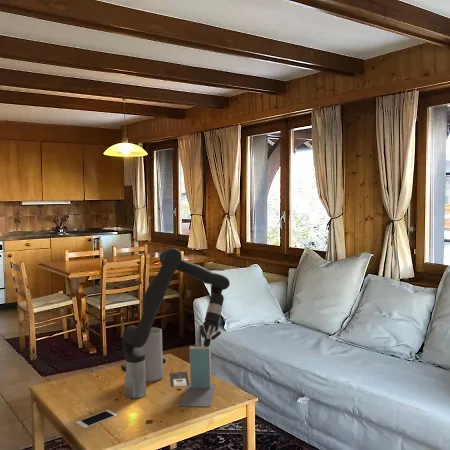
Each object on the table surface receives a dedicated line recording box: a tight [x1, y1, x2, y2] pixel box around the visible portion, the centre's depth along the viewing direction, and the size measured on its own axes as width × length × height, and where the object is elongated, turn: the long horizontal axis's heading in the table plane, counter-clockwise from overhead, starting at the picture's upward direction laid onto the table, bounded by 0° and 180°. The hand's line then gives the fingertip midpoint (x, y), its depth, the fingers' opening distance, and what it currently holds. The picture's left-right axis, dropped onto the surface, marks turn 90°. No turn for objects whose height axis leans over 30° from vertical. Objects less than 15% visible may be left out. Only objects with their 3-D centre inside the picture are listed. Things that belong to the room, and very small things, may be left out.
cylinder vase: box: [140, 327, 164, 383], centre depth 259 cm, size 12×12×25 cm
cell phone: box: [75, 409, 118, 429], centre depth 214 cm, size 8×16×1 cm, turn 135°
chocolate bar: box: [169, 371, 190, 388], centre depth 257 cm, size 9×1×18 cm
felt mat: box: [178, 382, 217, 408], centre depth 237 cm, size 26×14×1 cm, turn 175°
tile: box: [189, 346, 212, 388], centre depth 245 cm, size 2×10×20 cm, turn 85°
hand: (205, 346), depth 250 cm, fingers closed
